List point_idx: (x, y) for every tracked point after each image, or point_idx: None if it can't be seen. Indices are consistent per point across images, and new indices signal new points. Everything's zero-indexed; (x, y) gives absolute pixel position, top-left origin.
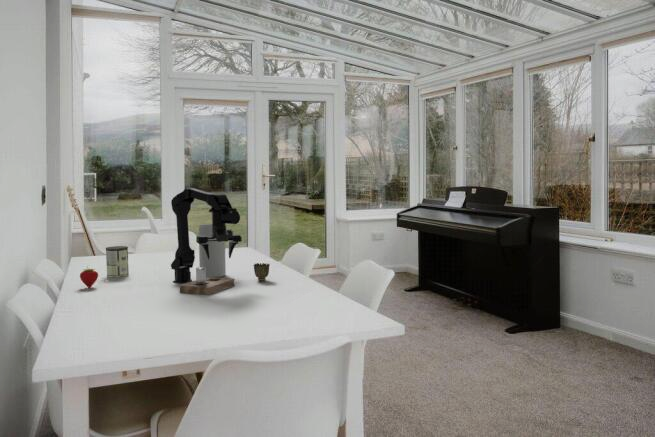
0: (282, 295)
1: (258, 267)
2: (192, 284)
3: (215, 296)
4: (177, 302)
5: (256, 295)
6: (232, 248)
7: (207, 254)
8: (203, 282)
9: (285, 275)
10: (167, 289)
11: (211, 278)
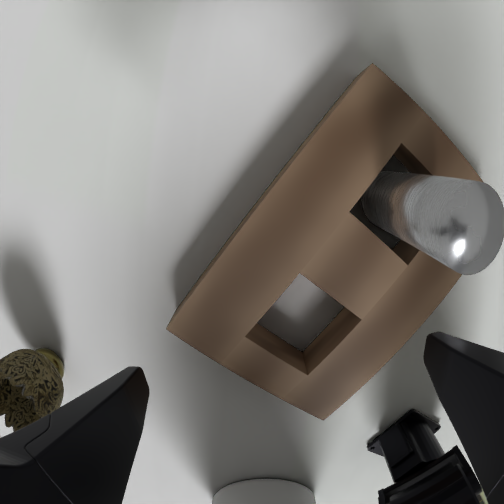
0: (16, 14)
1: (18, 379)
2: None
3: (318, 23)
4: (474, 6)
5: (100, 7)
6: (31, 436)
7: (489, 348)
8: (402, 176)
9: None
10: (500, 296)
11: (309, 375)
